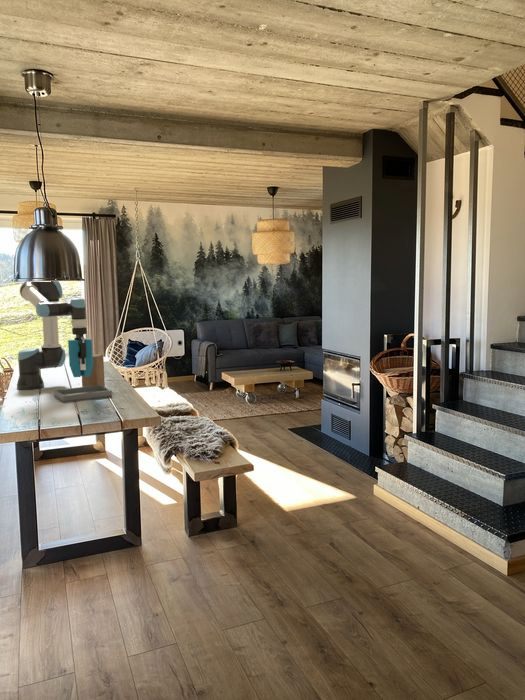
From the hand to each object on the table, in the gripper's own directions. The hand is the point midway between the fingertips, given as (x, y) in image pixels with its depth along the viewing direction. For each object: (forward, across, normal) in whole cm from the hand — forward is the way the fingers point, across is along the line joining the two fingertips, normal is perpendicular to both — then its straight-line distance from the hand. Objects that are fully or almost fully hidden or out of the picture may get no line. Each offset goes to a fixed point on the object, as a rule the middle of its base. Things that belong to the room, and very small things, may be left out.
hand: (81, 369), depth 306 cm
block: (+4, 0, 0) cm, 4 cm away
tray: (+15, 0, 0) cm, 15 cm away
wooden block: (+16, -20, +12) cm, 28 cm away
